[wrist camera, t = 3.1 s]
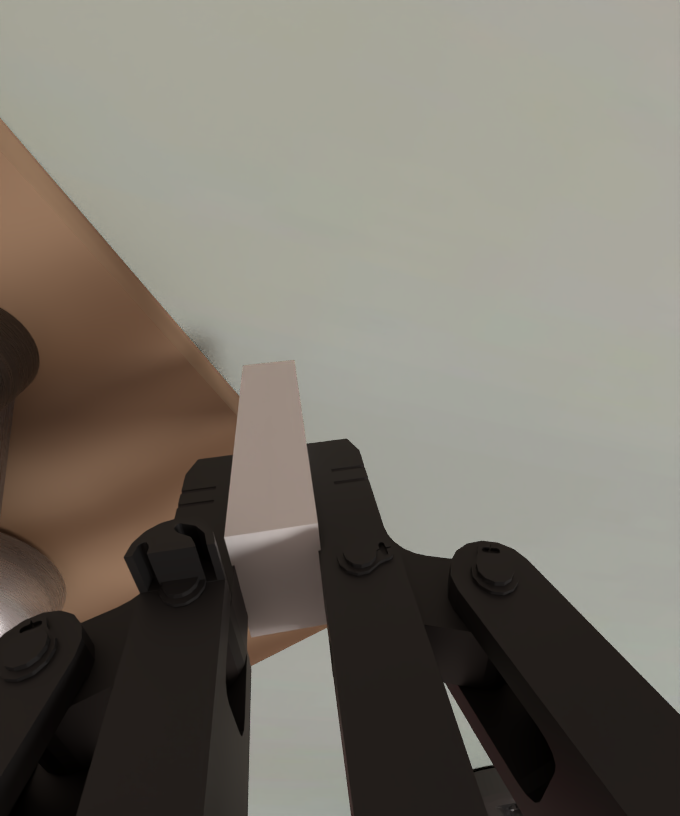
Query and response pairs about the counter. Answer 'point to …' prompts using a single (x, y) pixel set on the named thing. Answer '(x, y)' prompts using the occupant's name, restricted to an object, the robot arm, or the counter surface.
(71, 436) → the wooden cutting board
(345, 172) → the counter surface
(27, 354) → the dark grey dumbbell shape
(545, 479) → the counter surface
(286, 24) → the counter surface
